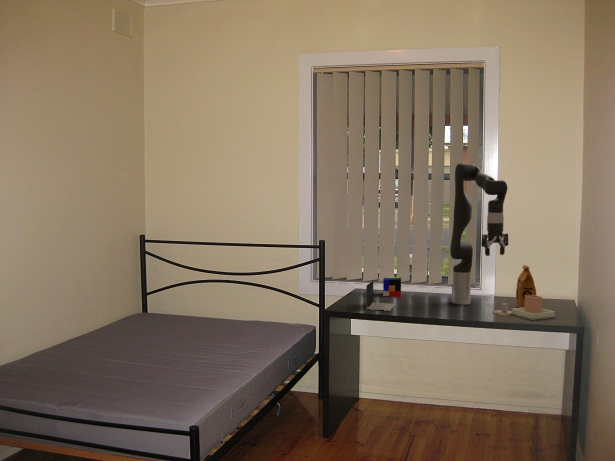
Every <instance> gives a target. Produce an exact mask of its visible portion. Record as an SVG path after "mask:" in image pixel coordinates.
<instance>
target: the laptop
mask: <svg viewBox="0 0 615 461" xmlns="http://www.w3.org/2000/svg"><path fill="white" fill-rule="evenodd" d="M365 290H366V291H365V293H366V295H365V298H366V300H365V303H366V304H365V307H366V308H365V309H366V310H367V309H370V310H369V311H374V310H384V311H383V312H391V310H392V309H394V307H395V306H396V303H390V302H389V303H386V302H385V303H383V302H374V280H371V281H370V282H369V283H368V284H367V285H366V288H365Z"/></svg>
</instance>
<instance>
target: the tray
mask: <svg viewBox="0 0 615 461" xmlns="http://www.w3.org/2000/svg"><path fill="white" fill-rule="evenodd" d="M524 309H525V307H522V308H519V307H516V308H511V311H512V313H513V315H512V316H516V317H519V318H522V319H526V320H529V321H536V320H538V321H539V320H546V319H554V318H555V316H556V314H555V313H556V312H555V310H549V309H546V308H542V312H541V313H528V312H525V311H524Z"/></svg>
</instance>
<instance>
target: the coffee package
mask: <svg viewBox="0 0 615 461" xmlns="http://www.w3.org/2000/svg"><path fill="white" fill-rule="evenodd" d="M522 269H523V270H522V271H521V273H520V274H519V276H518V277H517V282H516V288H515V289H516V290H515V298H516V299H515V301H516V306H517V308H522V307H525V296H528V295H536V296H537V289H536V286H535V280H534V277H533V276H532V273H531V271H530V266H528V265H526V264H524V265H522Z"/></svg>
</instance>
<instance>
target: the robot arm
mask: <svg viewBox="0 0 615 461" xmlns="http://www.w3.org/2000/svg"><path fill="white" fill-rule="evenodd" d="M454 170H455V171H454V203H453V204H454V205H453V224H452V225H453V227H452V233H451V241H450V248H449V251H450V254H449V255H450V257H451V259H453V260H461V261H460V262H458V263H457V264H455V265H454V266H453V267H452V268H453V269H452V272H453V273H452V285H451V302H452V303H453V304H455V305H470V304H471V289H472V288H471V281H472V280H471V279H472V277H471V273H472V267H473V255H474V252H473V245H472V243H471V242H469V241H462V236H463V233H464V231H465V229H466V228H467V227H468V225H469V224H470V222H471V220H472V214H473V213H472V212H473V207H472V206H473V205H472V203H471V201H470V199H469V197H468V195H467V193H466V191H465V182H473V181H474V182H475V184H476V185H477V186H478V187H479V188H481V189H483V191H484V194H486V195H488V196H496V197H495V198H494V199H491V200H489V201H488V202H487V218H486V219H487V220H486V225H487V226H486V231H487V234H485V233H484V234H481V244H480V245H481V246H480V247H483V248H484V254H485V256H486V257H490V255H491V250H490V247H491V246H492V245H493V244H498V245H499V255H501V256H504V255H505V253H506V252H505V250H506V247H507V246H509V234H508V233H505V232H504V203H505V199H506V196H507V193H508V184H507V182H506V181H505V180H503V179H502V180H498V179H497V180H496V179H494V177H492V176H490V175H489V174H486V173H485V172H484V171H483V170H482V169H481V168H479V166H477V164H475V163H471V162H470V163H457V165H456V166H455V169H454Z"/></svg>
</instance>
